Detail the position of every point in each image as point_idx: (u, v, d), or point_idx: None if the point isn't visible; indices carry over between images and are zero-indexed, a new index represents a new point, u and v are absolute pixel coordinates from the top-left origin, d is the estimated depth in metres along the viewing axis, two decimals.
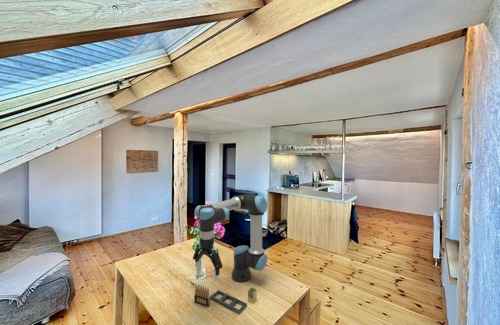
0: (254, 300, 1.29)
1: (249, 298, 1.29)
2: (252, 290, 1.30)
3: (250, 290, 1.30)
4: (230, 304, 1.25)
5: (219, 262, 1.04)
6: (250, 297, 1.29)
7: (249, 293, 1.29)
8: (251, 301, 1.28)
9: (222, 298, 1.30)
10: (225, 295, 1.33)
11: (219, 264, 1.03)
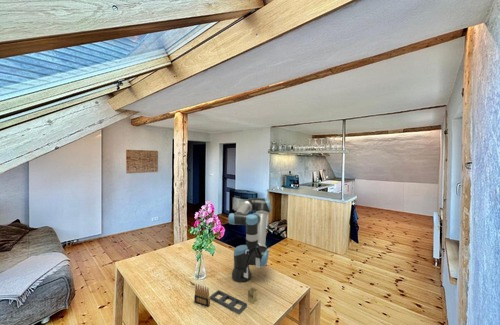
0: (254, 300, 1.29)
1: (249, 298, 1.29)
2: (252, 290, 1.30)
3: (250, 290, 1.30)
4: (230, 304, 1.25)
5: (243, 262, 1.23)
6: (250, 297, 1.29)
7: (249, 293, 1.29)
8: (251, 301, 1.28)
9: (222, 298, 1.30)
10: (225, 295, 1.33)
11: (242, 263, 1.23)
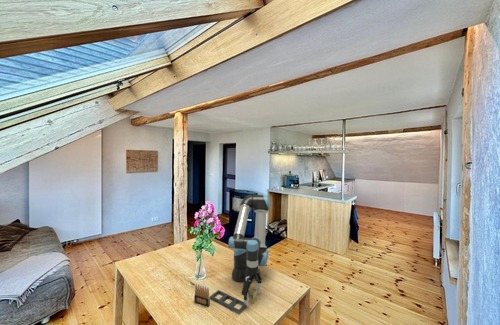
0: (254, 300, 1.29)
1: (249, 298, 1.29)
2: (252, 290, 1.30)
3: (250, 290, 1.30)
4: (230, 304, 1.25)
5: (244, 289, 1.23)
6: (250, 297, 1.29)
7: (249, 293, 1.29)
8: (251, 301, 1.28)
9: (222, 298, 1.30)
10: (225, 295, 1.33)
11: (243, 291, 1.23)
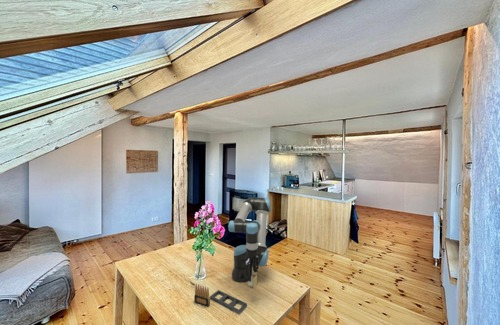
0: (254, 285, 1.29)
1: None
2: (252, 275, 1.30)
3: None
4: (230, 304, 1.25)
5: (247, 272, 1.26)
6: None
7: None
8: (251, 286, 1.29)
9: (222, 298, 1.30)
10: (225, 295, 1.33)
11: (246, 273, 1.26)
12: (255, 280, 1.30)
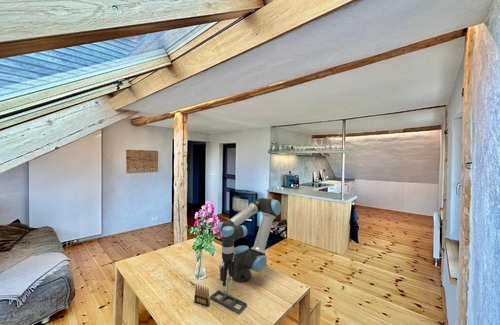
0: (229, 290, 1.27)
1: None
2: (227, 280, 1.28)
3: None
4: (230, 304, 1.25)
5: (221, 276, 1.24)
6: None
7: None
8: (226, 291, 1.26)
9: (222, 298, 1.30)
10: (225, 295, 1.33)
11: (221, 277, 1.24)
12: (230, 285, 1.28)
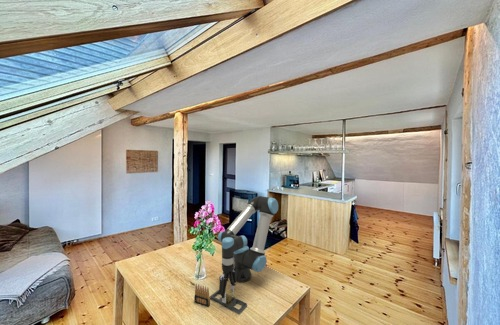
0: (230, 302, 1.27)
1: None
2: (227, 292, 1.28)
3: (226, 292, 1.28)
4: (230, 304, 1.25)
5: (220, 288, 1.23)
6: (226, 299, 1.27)
7: None
8: (227, 303, 1.27)
9: None
10: None
11: (220, 289, 1.23)
12: (231, 297, 1.28)
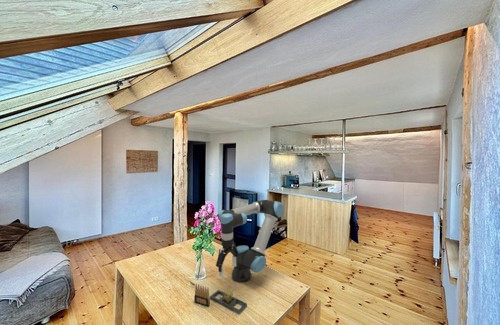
0: (230, 302, 1.27)
1: (225, 300, 1.28)
2: (227, 292, 1.28)
3: (226, 292, 1.28)
4: (230, 304, 1.25)
5: (218, 261, 1.23)
6: (226, 299, 1.27)
7: (225, 295, 1.28)
8: (227, 303, 1.27)
9: (222, 298, 1.30)
10: None
11: (217, 262, 1.23)
12: (231, 297, 1.28)
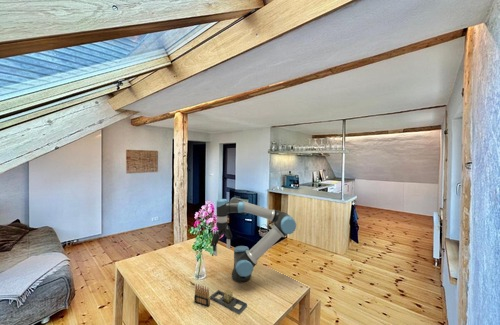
0: (230, 302, 1.27)
1: (225, 300, 1.28)
2: (227, 292, 1.28)
3: (226, 292, 1.28)
4: (230, 304, 1.25)
5: (212, 241, 1.34)
6: (226, 299, 1.27)
7: (225, 295, 1.28)
8: (227, 303, 1.27)
9: (222, 298, 1.30)
10: None
11: (212, 242, 1.34)
12: (231, 297, 1.28)
